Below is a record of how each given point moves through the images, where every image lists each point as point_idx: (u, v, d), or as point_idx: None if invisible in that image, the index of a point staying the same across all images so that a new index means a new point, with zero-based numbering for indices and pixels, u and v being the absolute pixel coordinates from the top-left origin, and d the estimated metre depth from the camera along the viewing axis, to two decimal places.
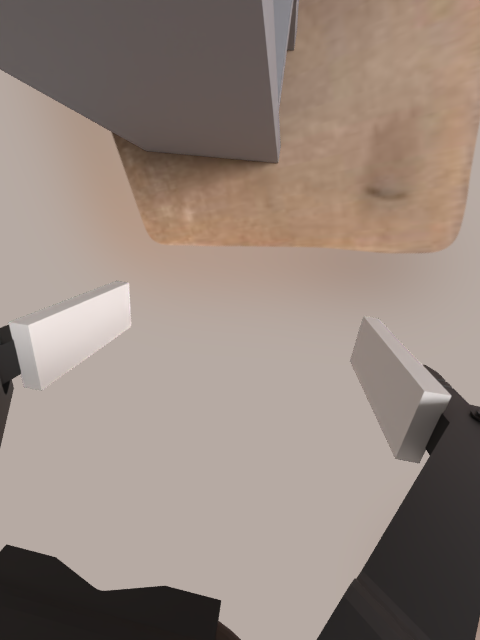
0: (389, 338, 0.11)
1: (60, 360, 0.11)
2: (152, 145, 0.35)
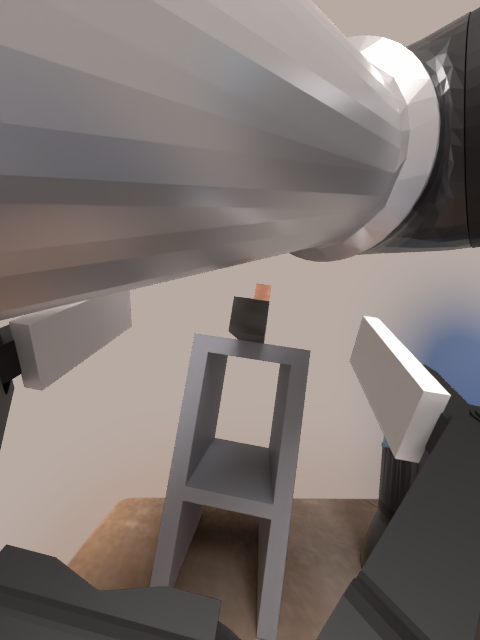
0: (389, 338, 0.11)
1: (60, 360, 0.11)
2: None
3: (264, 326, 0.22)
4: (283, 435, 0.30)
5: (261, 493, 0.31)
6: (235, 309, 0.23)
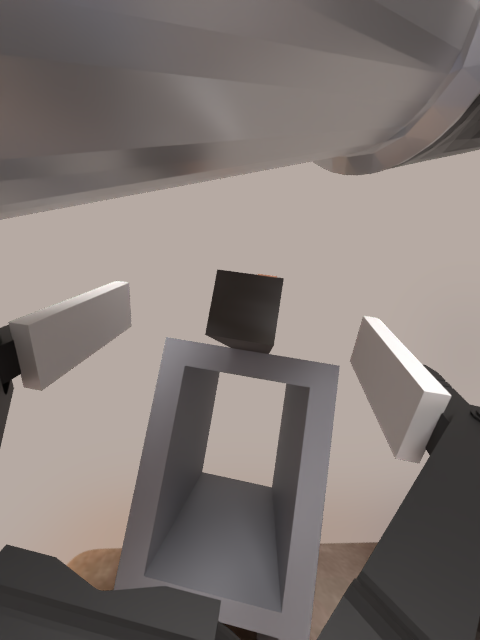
0: (389, 338, 0.11)
1: (60, 360, 0.11)
2: None
3: (274, 326, 0.12)
4: (298, 498, 0.19)
5: (262, 584, 0.21)
6: (219, 293, 0.12)
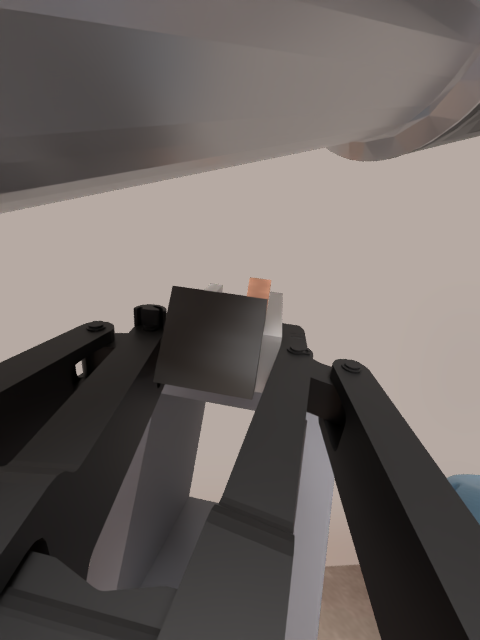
0: (274, 305, 0.14)
1: None
2: None
3: (253, 370, 0.08)
4: (293, 559, 0.16)
5: None
6: (174, 321, 0.08)
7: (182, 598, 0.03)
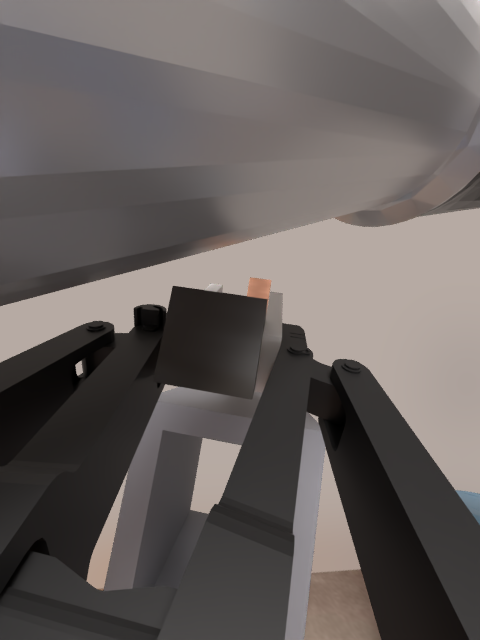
0: (274, 305, 0.14)
1: None
2: None
3: (253, 370, 0.08)
4: None
5: None
6: (174, 321, 0.08)
7: (182, 598, 0.03)
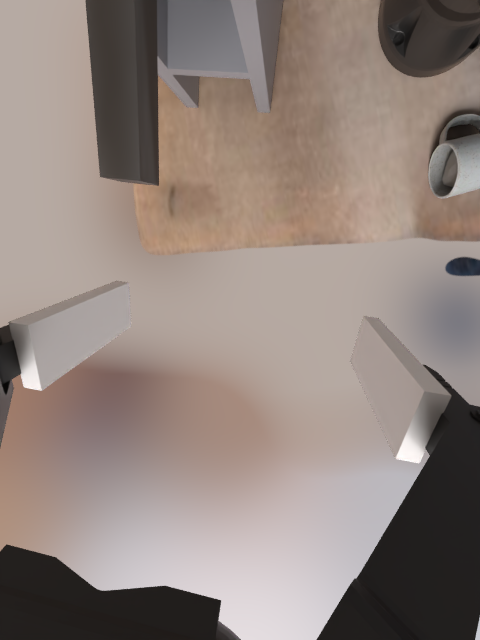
0: (389, 338, 0.11)
1: (60, 360, 0.11)
2: None
3: (153, 184, 0.21)
4: (240, 33, 0.25)
5: (239, 50, 0.31)
6: (113, 179, 0.20)
7: None
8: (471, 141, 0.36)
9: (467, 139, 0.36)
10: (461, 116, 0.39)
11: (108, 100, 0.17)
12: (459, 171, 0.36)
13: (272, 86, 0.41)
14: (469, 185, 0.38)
